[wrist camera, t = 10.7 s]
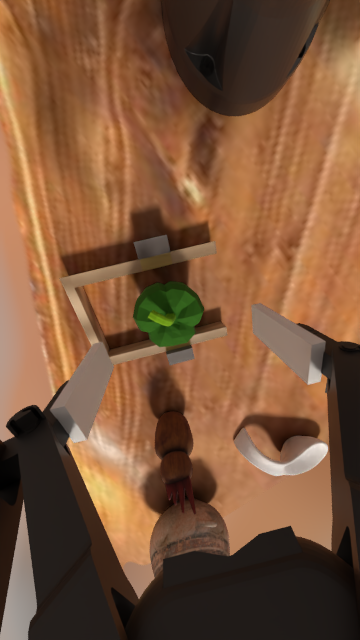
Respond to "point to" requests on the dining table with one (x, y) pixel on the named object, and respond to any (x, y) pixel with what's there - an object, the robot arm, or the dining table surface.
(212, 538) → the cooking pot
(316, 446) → the spoon rest
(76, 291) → the tan wooden u-shaped frame
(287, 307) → the dining table surface
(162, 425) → the wooden figurine
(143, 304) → the bell pepper
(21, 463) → the robot arm
